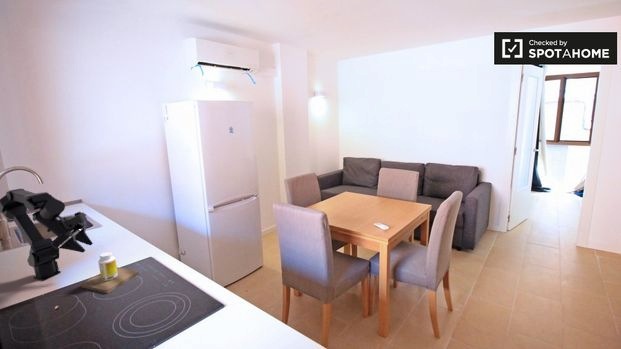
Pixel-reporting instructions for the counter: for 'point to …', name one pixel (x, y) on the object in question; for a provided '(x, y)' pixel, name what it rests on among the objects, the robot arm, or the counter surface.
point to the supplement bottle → (107, 266)
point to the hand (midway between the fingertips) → (88, 247)
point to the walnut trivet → (109, 281)
